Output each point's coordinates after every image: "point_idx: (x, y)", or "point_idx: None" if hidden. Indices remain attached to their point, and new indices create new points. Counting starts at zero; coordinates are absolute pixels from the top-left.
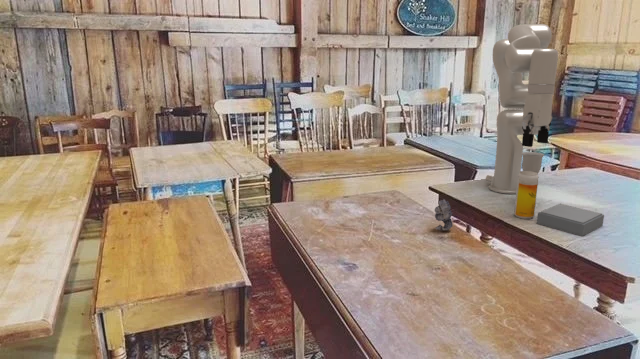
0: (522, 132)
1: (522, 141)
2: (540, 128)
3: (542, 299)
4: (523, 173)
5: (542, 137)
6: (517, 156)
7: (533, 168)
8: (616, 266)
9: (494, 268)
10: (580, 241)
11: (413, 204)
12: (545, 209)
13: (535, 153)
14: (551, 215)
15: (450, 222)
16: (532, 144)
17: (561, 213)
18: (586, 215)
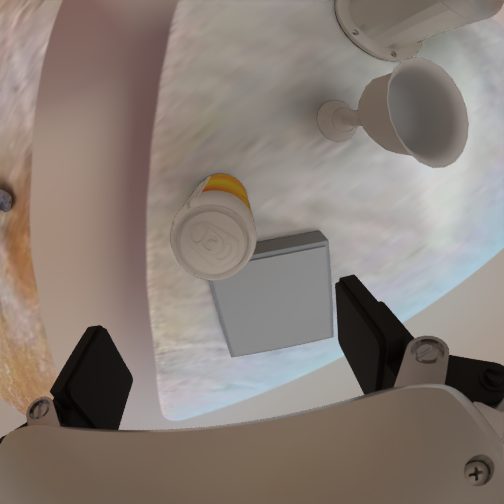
0: (33, 402)
1: (79, 344)
2: (398, 372)
3: (45, 394)
4: (187, 234)
5: (352, 342)
6: (445, 15)
7: (376, 140)
8: (173, 408)
9: (24, 339)
10: (204, 352)
11: (51, 21)
12: None
13: (459, 105)
14: (217, 295)
15: (4, 206)
16: (126, 390)
17: (247, 302)
18: (287, 333)
